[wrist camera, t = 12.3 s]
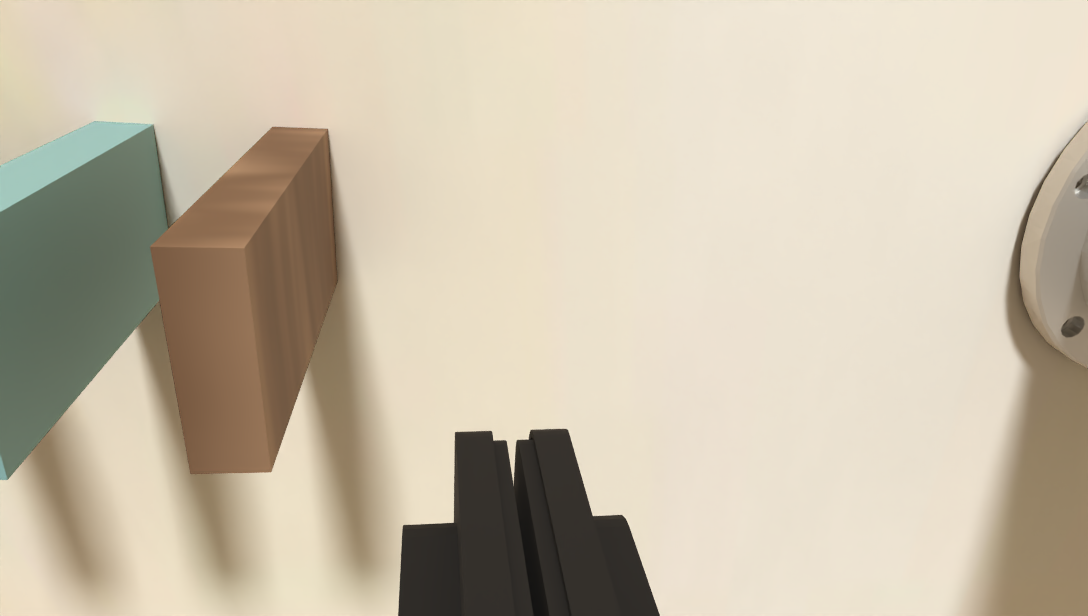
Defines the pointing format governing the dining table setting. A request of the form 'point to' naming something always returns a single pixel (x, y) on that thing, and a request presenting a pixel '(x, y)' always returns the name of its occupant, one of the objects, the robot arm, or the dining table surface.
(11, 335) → the domino
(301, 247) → the domino
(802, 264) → the dining table surface
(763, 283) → the dining table surface
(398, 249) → the dining table surface
